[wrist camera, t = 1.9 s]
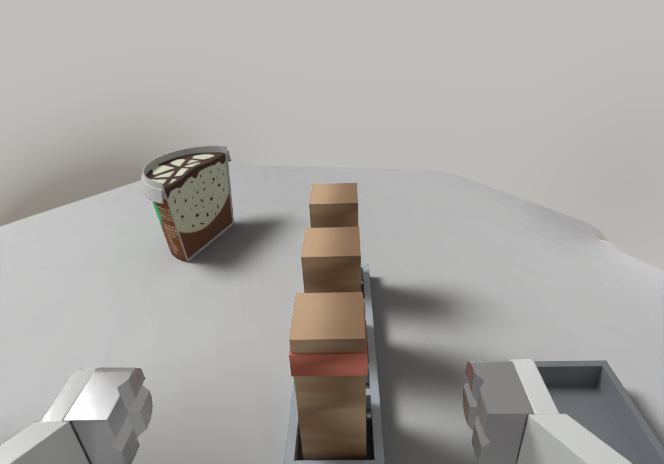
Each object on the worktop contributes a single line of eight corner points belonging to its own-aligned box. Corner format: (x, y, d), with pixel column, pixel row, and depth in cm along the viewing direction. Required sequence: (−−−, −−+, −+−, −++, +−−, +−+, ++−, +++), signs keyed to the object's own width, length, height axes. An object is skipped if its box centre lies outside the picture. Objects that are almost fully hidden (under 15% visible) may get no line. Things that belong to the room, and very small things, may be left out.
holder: (285, 484, 29) (283, 469, 28) (308, 277, 48) (307, 265, 48) (384, 484, 29) (385, 469, 28) (368, 276, 48) (368, 264, 47)
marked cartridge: (302, 469, 30) (287, 341, 25) (307, 414, 34) (294, 292, 28) (367, 469, 30) (367, 340, 24) (365, 414, 33) (364, 291, 28)
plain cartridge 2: (311, 373, 37) (301, 257, 32) (314, 338, 40) (305, 228, 35) (362, 372, 37) (360, 255, 31) (360, 337, 40) (358, 226, 35)
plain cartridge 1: (316, 308, 44) (309, 204, 38) (318, 283, 47) (312, 184, 42) (359, 308, 44) (357, 202, 38) (358, 282, 47) (356, 183, 42)
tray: (513, 506, 27) (520, 481, 26) (475, 386, 35) (479, 362, 34) (670, 506, 27) (685, 480, 26) (597, 385, 35) (606, 360, 34)
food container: (201, 211, 63) (186, 139, 58) (240, 218, 60) (228, 144, 56) (135, 259, 53) (110, 177, 48) (178, 269, 51) (157, 185, 46)
